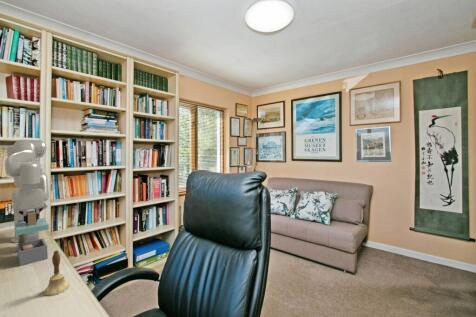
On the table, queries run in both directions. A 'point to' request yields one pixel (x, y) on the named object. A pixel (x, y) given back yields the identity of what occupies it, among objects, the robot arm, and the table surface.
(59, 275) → the hand bell
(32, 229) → the lid
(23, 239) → the coffee box
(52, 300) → the table surface
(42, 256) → the box
